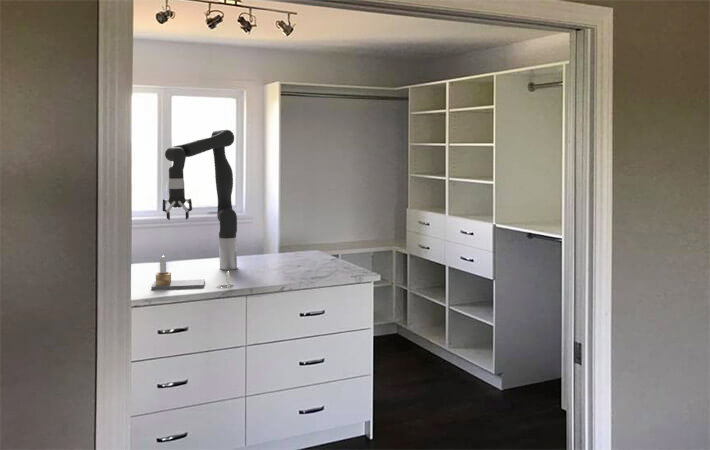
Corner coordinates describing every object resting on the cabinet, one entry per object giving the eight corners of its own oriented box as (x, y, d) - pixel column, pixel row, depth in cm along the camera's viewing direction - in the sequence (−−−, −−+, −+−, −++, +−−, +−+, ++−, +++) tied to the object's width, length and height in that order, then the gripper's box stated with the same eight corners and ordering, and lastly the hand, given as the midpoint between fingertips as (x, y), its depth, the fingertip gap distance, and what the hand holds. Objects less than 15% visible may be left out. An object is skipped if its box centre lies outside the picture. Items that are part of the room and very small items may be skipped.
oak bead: (171, 281, 309) (170, 271, 308) (170, 284, 302) (169, 274, 302) (157, 282, 307) (157, 272, 307) (156, 285, 301) (155, 275, 300)
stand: (216, 286, 306) (232, 285, 309) (217, 288, 302) (234, 287, 304) (215, 270, 305) (232, 269, 308) (216, 272, 301) (233, 271, 303)
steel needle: (167, 282, 306) (165, 255, 305) (166, 284, 304) (165, 256, 302) (161, 283, 306) (159, 255, 304) (160, 284, 303) (159, 256, 301)
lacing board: (205, 282, 314) (204, 279, 314) (203, 287, 303) (203, 284, 302) (154, 284, 310) (154, 281, 310) (151, 290, 298) (151, 286, 298)
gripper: (191, 186, 322) (192, 218, 324) (162, 187, 320) (164, 218, 322) (190, 187, 315) (191, 220, 317) (160, 188, 312) (162, 220, 315)
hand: (177, 219), depth 319 cm, fingers open, 8 cm apart
